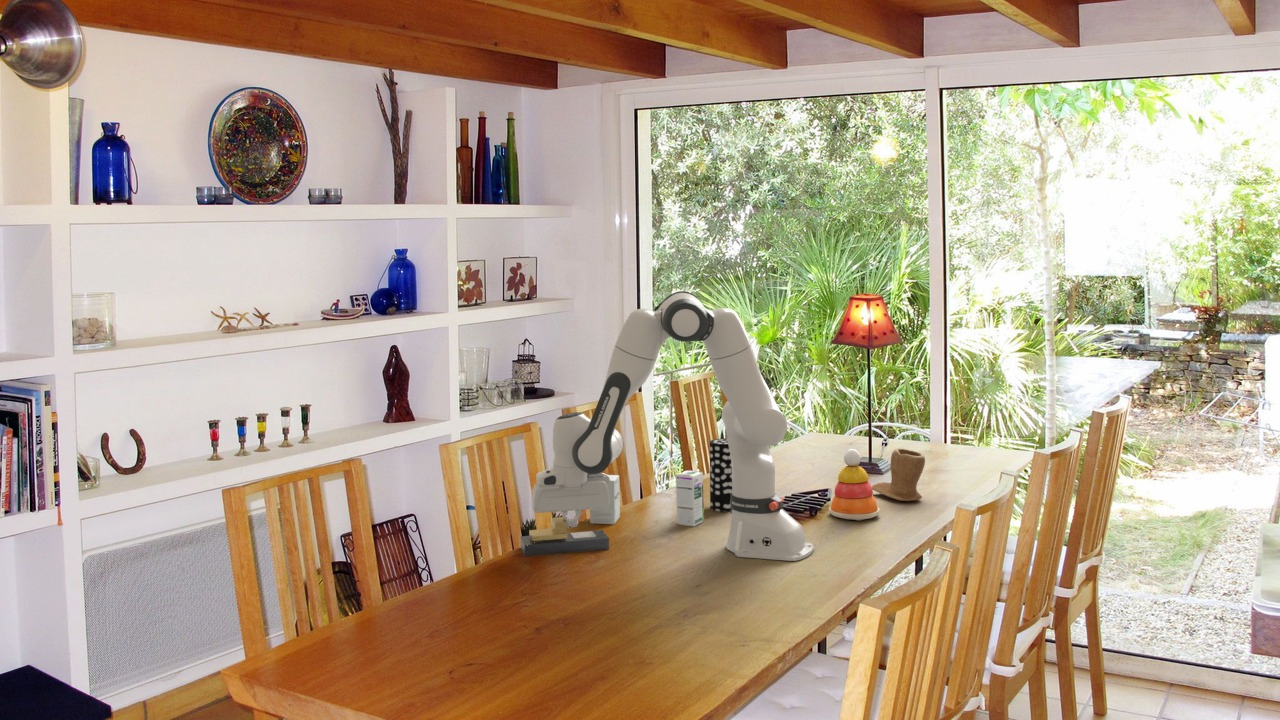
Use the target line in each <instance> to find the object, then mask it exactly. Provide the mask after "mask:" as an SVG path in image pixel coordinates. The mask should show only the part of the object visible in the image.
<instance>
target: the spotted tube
mask: <svg viewBox="0 0 1280 720" xmlns="http://www.w3.org/2000/svg"><path fill="white" fill-rule="evenodd" d="M731 493H732V463H731V456H730V450H729V445H728V440H727V438H716V439H711V440H709V506H710V507H709V509H711V510H712V511H714V512H720V513H721V512H722V513H725V512H731V511H730V498H731Z"/></svg>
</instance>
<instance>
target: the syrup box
mask: <svg viewBox="0 0 1280 720" xmlns="http://www.w3.org/2000/svg"><path fill="white" fill-rule="evenodd" d="M675 490H676V491H675V493H676V494H675V495H676V497H675V499H676V501H675V502H676V524H677V525H680V526H687V527H696V526H697V525H700V524H702V523H704V522H705V509H704V506H705V505H704V504H705V503H704V473H703V471H698V470H684V471H682V472H680V473H677V474H676V475H675Z"/></svg>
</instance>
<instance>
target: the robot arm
mask: <svg viewBox="0 0 1280 720" xmlns="http://www.w3.org/2000/svg"><path fill="white" fill-rule="evenodd" d="M669 338H672V339H674V340H676V341H677V342H682V343H685V342H686V343H687V342H688V343H690V342H702V343H703V345H704V346H705V349H706V352H707V355H708V358H709V361H710V364H711V367H712V370H713V372H714V376H715V378H716V382H717V384H718V387H719V388H720V391H722V393H723V395H724V396H725V398H726V402H725V403H724V405H723V406H722V410H721V420H722V422H723V425H724V428H725V433H726V439H727V440H728V445H729V450H730V456H731V463H732V493H731V498H730V511H729V512H730V514H731V517H730V518H731V519H730V527H729V533H728V538H727V542H726V544H725V548H726V550H728V551H730V552H732V553H733V554H734V555H735V556H736V557H739V558H749V559H752V558H753V559H763V560H775V561H786V562H787V561H788V562H789V561H790V562H793V561H794V562H795V561H800V560H803V559H805V558H807V557H810V555H812V554H813V552H814V544H813V543H811V542H808V541H807V542H806V537H805V531H804V528H803V526H802V524H800V522H798V521H797V520H796V519H794V518H793V517H792V516H791V515H789V514H788V512H786V511H785V510H784V509H783V503H784V502H785V497H783V496H782V497H781V498H780V497H779V496H778V495H777V494H776V465H775V461H774V459H773V456H772V452H771V449H770V447H773V446H775V445H777V444H779V443H780V442H781V441H783V439H784V438H785V436H786V433H787V431H788V423H787V419H786V417H785V415H784V414H783V412H782V411H781V410H780V408H779V406H778V404H777V402H776V400H775V398H774V396H773V394H772V392H771V390H770V388H769V386H768V384H767V382H766V381H765V379H764V377H763V375H762V373H761V370H760V367H759V365H758V361H757V358H756V356H755V353H754V349H753V347H752V344H751V341H750V338H749V336H748V332H747V331H746V328H745V326H744V324H743V323H742V321H741V318H740V316H739V315H738V313H737V312H736V311H735V310H733V309H732V308H728V307H718V308H715V309H708V308H706V307H705V306H704V305H703V303H702V302H701V301H700V299H699V298H698V297H697V296H696V295H695V294H693V293H692V292H688V291H685V290H684V291H683V290H682V291H681V290H680V291H675V292H673V293H671V294H670V295H667V297H665V299H663V300H662V301H661V302H660V303H659V304H658V305H657V306H655V307H654V310H651V309H648V308H638V309H635V310H633V311H632V312H630V314H629V316H628V317H627V319H626V320H625V322H624V324H623V325H622V327H621V330H620V332H619V335H618V336H617V339H616V342H615V345H614V348H613V351H612V354H611V357H610V362H609V365H608V370H607V372H606V376H605V381H604V385H603V388H602V391H601V394H600V397H599V399H598V401H597V404H596V407H595V409H594V412H593V414H592V417H591V418H589V417H588V416H587V415H586V414H584V413H583V412H581V411H580V412H579V411H577V412H568V413H565V414H562V415H559V416H558V417H557V418H556V419H555V420H554V424H553V428H552V450H553V453H554V457H553V462H552V464H553V465H552V467H550V468H547V469H545V470H541V471H540V472H537V473H536V475H535V479H536V480H535V481H536V483H535V484H534V485H533V488H532V495H531V508H532V511H534V512H535V514H543V513H556V512H560V514H561V517H564V519H565V520H566V522H567V528H575V527H576V528H577V527H578V521H579V519H580V518H581V515H582V511H583V510H584V511H586V510H590V509H600V508H607V507H608V506H609V504H610V499H609V492H608V488H609V486H610V478H609V476H608V475H609V474H605V470H606V469H607V468H608V467H609V466H610V465H611V463H613V462H614V461H615V460H616V459H617V458H618V457H619V456H620V455H621V453H622V452H623V449H624V444H625V443H624V439H623V436H622V434H621V432H620V431H619V430H618V429H617V425H618V422H619V419H620V417H621V415H622V411H623V410H624V407H625V405H626V404H627V402H628V401H629V400H630V398H631V397H633V395H635V393H636V392H638V390H639V389H640V388H641V387H642V386H643V385H644V384H645V383H646V381H647V380H648V378H649V376H650V375H651V373H652V371H653V369H654V367H655V364H656V362H657V359H658V356H659V352H660V350H661V347H662V345H663V344H664V342H665V341H667V340H668V339H669ZM604 476H605V477H604ZM570 511H574V513H575V515H574V517H573V518H568V517H567V516H568V512H570Z"/></svg>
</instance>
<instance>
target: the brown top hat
mask: <svg viewBox="0 0 1280 720" xmlns="http://www.w3.org/2000/svg"><path fill="white" fill-rule="evenodd" d="M925 465H926V458H925V455H924V454H923V453H921V452H919V451H914V450H910V449H907V448H906V449H905V448H900V447H899V448H895V449H893V451H892V452H891V457H890V474H891V481H890V482H885V481H883V482H877V483H874V484H873V485H871V487H872V490H873V492H876V493H879V494H881V495H884V496H885V497H888V498H891V499H894V500H896V501H901V502H902V501H903V502H913V501H919V500H921V499H923V497H922V495H921V494H920V493H919V491H918V490H917V486H918V482H919V480H920V478H921V475H922V473H923V471H924V468H925Z"/></svg>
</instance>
